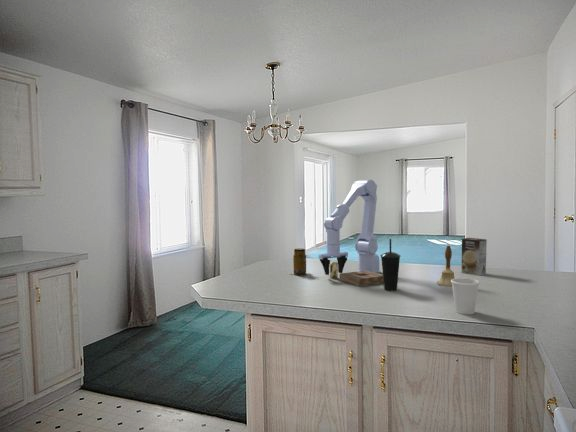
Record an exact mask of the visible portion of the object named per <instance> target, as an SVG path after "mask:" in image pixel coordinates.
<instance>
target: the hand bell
mask: <svg viewBox="0 0 576 432" xmlns="http://www.w3.org/2000/svg"><path fill="white" fill-rule="evenodd" d="M452 254H453V252H452V249H451V245H447V246H446V247H445V251H444V257H445V269H443V270H442V272H441V277H440V279H439V280H438V281H437V282H436V284H437V285H438V286H443V287H452V282H451V280H452V279H456V277H455V272H454V271H453V270H451V259H452Z"/></svg>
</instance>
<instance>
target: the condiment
mask: <svg viewBox="0 0 576 432" xmlns="http://www.w3.org/2000/svg"><path fill="white" fill-rule="evenodd" d="M293 253H294V254H293V257H292V258H293V260H292V261H293V272H291V273H289V275H293V276H301V277H303V276H310V275H312V273H309V272H307V255H306V249H305V248H294V249H293Z"/></svg>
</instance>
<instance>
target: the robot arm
mask: <svg viewBox="0 0 576 432" xmlns="http://www.w3.org/2000/svg"><path fill="white" fill-rule="evenodd" d="M377 188H378V185H377V184H376V182H375V181H374V180H373V179H361V180H355V181H354V182H353V184H352V185H351V189H350V191H349V192H348V194H347V196H346V197H345V199H344V200H343V203H340V204H337V205H336V208H335V209H334V211H333V212H332V213H331V214H330V216H329V217H327V218H326V219H325V220H324V223H323V226H324V229H325V232H326V253H321V254H318V260H319V262H320V263H321V266H322V267H323V268H322V269H323V270H324V275H326V276H330V262H331V260H330V259H335V258H336V260H337V261H336V262H337V263H338V274H341V273H344V272H343V271H344V267H345V264H346V262H347V261H348V257H349V253H348V252H346V251H342V252H341V243H340V241H341V239H340V238H341V236H340V235H341V233H340V231H341V229H342V228H343V226H344V225H343V223H344V221H345V219H346V217H347V216H348V215H349V213H350V207H351V206H352V205H353V204H354V202H355V201H356V200H357V199H358V198H359V197H361V198H362V199H363V200H364V204H363V214H362V215H363V216H362V222H361V223H362V224H361V225H362V226H361V232H360V234H358V236H357V239H356V241H355V245H354V249H355V251H356V252H357V254H358V270H355V271H354V272H357V271H369V272H373V273H377V274H381V272H382V271H380V257H379V256H380V255H379V254H377V252H378V242H377V241H378V238H377V237H376V236H375V234H374V229H375V219H376V218H375V217H376V210H377V199H378V198H377V197H378V196H377V191H378V190H377Z"/></svg>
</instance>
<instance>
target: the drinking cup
mask: <svg viewBox="0 0 576 432" xmlns="http://www.w3.org/2000/svg"><path fill="white" fill-rule="evenodd" d="M380 257H381V259H380V261H381V269H382V275H383V280H384V283H383V289H384V291H388V292H395V291H397V290H398V281H399V270H400V259H401V258H400V257H401V254H399V253H396V252H395V251H392V238H389V251H387V252H385V253H382V254H380Z"/></svg>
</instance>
